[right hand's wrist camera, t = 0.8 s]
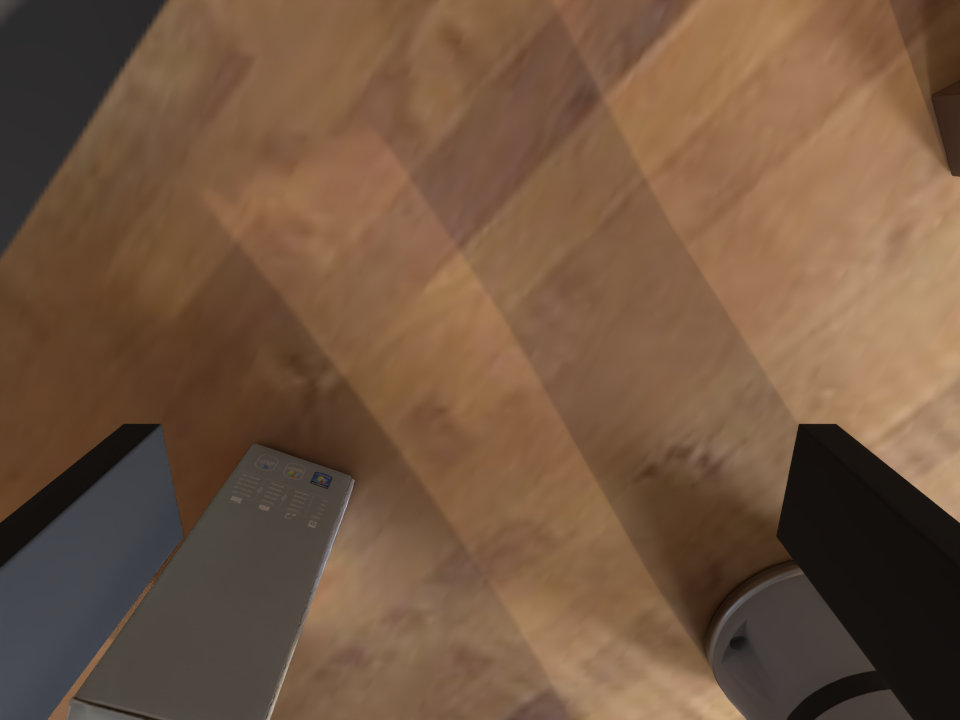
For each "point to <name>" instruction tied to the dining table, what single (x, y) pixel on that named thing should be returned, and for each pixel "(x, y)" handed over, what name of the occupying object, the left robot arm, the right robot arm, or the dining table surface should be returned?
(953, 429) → the dining table surface
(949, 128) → the walnut rail
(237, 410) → the dining table surface
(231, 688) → the hard drive box
